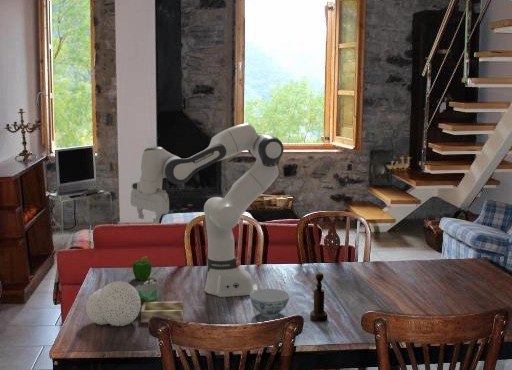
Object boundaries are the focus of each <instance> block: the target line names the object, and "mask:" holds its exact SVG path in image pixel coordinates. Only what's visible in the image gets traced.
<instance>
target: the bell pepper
mask: <svg viewBox="0 0 512 370" xmlns="http://www.w3.org/2000/svg"><path fill="white" fill-rule="evenodd" d="M147 259H148V256H143V257H142V258H141V260H138V259H137V260H135V261H134V262H133V263H132V272H133V273H132V274H133V275H134V278H135V279H136V280H139V281H147V280H148V277H151V272H152V268H153V267H152V262H151V260H150V261H149V260H147Z"/></svg>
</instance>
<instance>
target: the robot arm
mask: <svg viewBox="0 0 512 370" xmlns="http://www.w3.org/2000/svg"><path fill="white" fill-rule="evenodd" d="M245 151H247V152H248V153H249V154H250V156H252V157H253V158H255V162H254V164H253V165H252V167H251V168H250V169H248V170H247V171H246V172H245V173H244V174H242V175H241V176H240V177H239V178H238V179H237V180H236V181H235V182H234V183H233V184H232V185H231V187H230V189H229V191H227V193H226V194H225V196H224V197H220V196H213V197H210V198H208V199H207V200H206V202H205V203H204V205H203V213H204V219H205V229H206V236H207V255H208V256H207V259H206V270H207V277H206V283H205V287H204V292H205V293H206V294H209V295H213V296H216V297H218V298H227V297H240V296H250V294H251V293H252V292H253V291H256V290H259V288H258V285H257V284H256V283H254V282H253V278H252V276H251V274H250V272H249V271H247V270H245V269H244V268H243V267H241V261H240V259H239V257H236V256H235V237H234V234H233V233H234V232H233V229H234V228H235V227H236V226H237V225H238V223H239V221H240V219H241V218H242V216H243V215H244V214H245V212H246V211H247V209H248V208H249V207H250V205H251V204H252V203H253V202H254V201H256V200H257V199H258V198H260V196H261V195H262V194H263V193H264V192H266V191H267V189H268V188H270V187H271V185H272V184H273V183H274V182H275V181H276V179H277V178H278V176H279V168H278V164H279V163H280V160H281V159H282V156H283V155H284V151H285V149H284V144H283V143H282V141H281V140H280V139H279V138H278V137H276V136H273V135H271V134H264V133H258V132H257V131H256V128H255V127H254V125H252V124H250V123H248V122H247V123H246V122H245V123H241V124H237V125H234V126H232V127H229V128H226V129H224V130H222V131H220V132H218V133H217V134H216V135H214V136H213V137H211V139H210V142H209V145H208V147H206V148H205V149H204V150H201V151H200V152H198V153H196V154H194V155H192V156H190V157H187V158H182V157H179V156H178V155H176V154H172V153H171V152H169V151H168V150H166V149H164V148H163V147H162V146H149V147H146V148H145V149H144V150H143V152H142V155H141V161H140V162H141V163H140V171H141V175H140V179H139V181H137V182H132V183H131V185H130V186H131V192H130V205H131V206H132V207H135V208H136V212H137V214H138V217H137V218H138V220H144V219H145V214H144V213H143V210H146V211H148V212H153V213H155V218H153V221H152V222H153V224H159V223H160V219H161V217H162V216H163V215H166V214H168V213H169V212H170V199H169V193H168V192H167V190H165V189H164V190H163V179H167V180H168V181H169V182H170V183H172V184H173V185H183V184H185V183H187V182H188V181H189V180H190V179H191V178H192V177H193V176H194V175H195V174H196V173H198V172H200V171H202V170H204V169H205V168H207V167H209V166H211V165H213V164H214V163H217V162H219V161H222V160H226V159H229V158H231V157H234V156H236V155H238V154H240V153H242V152H245Z"/></svg>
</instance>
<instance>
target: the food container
mask: <svg viewBox="0 0 512 370" xmlns="http://www.w3.org/2000/svg"><path fill="white" fill-rule="evenodd" d="M159 287H160V284H159V281H158V279H157V278H155V277H152V276H150V277H148V278H147V279H146V280H144V281H143V282H142V283H141V285H140V284H138V285H137V290H136V291H137V292H138V294H139V296H140V302H141V307H140V310H141V309H142V306H143V303H144V302H157V299H158V288H159Z"/></svg>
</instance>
